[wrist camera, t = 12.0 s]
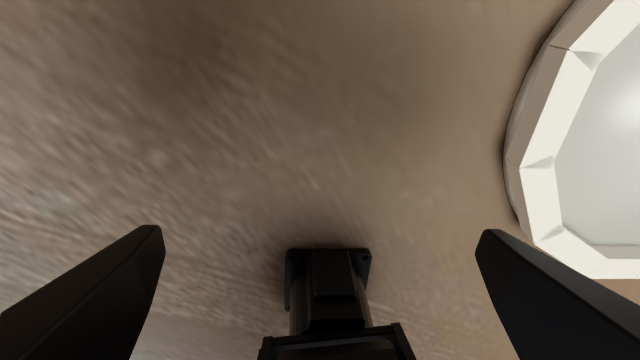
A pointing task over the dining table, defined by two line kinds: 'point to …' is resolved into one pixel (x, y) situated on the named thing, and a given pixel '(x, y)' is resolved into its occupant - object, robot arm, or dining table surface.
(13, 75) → the dining table surface
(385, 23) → the dining table surface
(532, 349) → the robot arm
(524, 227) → the ring tray
